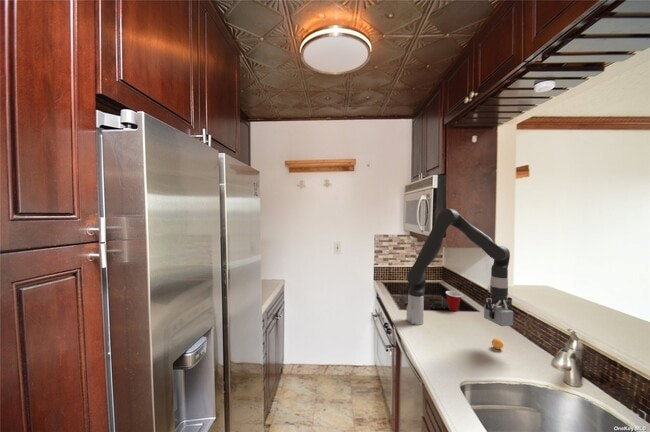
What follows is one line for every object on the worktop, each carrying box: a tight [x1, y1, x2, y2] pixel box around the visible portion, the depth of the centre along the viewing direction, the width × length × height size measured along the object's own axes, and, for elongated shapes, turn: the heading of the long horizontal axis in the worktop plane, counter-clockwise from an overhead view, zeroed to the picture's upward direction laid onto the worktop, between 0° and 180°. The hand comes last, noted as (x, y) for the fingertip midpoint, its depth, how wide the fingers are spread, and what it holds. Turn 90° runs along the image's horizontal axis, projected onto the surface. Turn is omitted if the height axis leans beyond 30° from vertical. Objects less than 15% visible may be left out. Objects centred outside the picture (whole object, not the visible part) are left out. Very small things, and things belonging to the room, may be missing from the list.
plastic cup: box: [445, 290, 463, 312], centre depth 187 cm, size 11×11×12 cm
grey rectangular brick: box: [483, 304, 514, 327], centre depth 134 cm, size 7×11×7 cm, turn 12°
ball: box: [491, 338, 504, 350], centre depth 134 cm, size 5×5×5 cm
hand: (498, 317), depth 134 cm, fingers closed on grey rectangular brick, 6 cm apart
